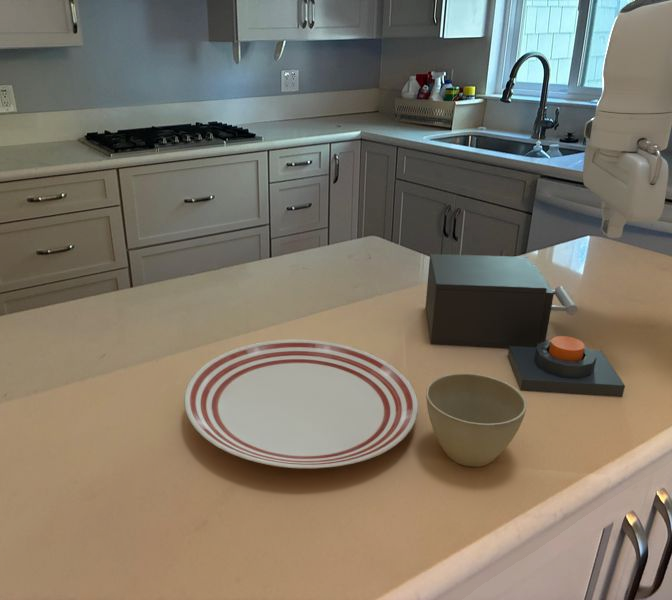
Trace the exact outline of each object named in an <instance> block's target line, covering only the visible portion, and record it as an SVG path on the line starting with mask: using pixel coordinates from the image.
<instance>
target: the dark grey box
mask: <svg viewBox="0 0 672 600" xmlns="http://www.w3.org/2000/svg"><path fill="white" fill-rule="evenodd" d="M532 264H533V263H532V262H531V261H530V260H529V258H528V256H507V255H474V254H449V253H448V254H447V253H446V254H445V253H443V254H441V253H430V254H429V261H428V274H427V284H426V296H425V297H426V298H425V306H424V307H425V309H424V310H425V316H426V323H427V330H428V335H429V343H430V345H433V346H450V347H468V348H469V347H470V348H485V349H486V348H487V349H488V348H489V349H502V350H503V349H505V350H509V346H522V347H537V346H538V344H539V343H538V337H539V331H540V325H541V319H542V314H543V308H544V302H545V296H546V290H547V288H546V287H545V285H544V283H543V282H542V280H541V279H540V277H539V275H538V274H537V272H536V271H535V269H534V267H533V266H532Z"/></svg>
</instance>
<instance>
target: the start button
mask: <svg viewBox="0 0 672 600" xmlns="http://www.w3.org/2000/svg"><path fill="white" fill-rule="evenodd" d="M550 340H551V342H550V347H549V354H550V355H551V356H553V357H555V358H558V359H561V360H565V361H579V360H582V358H583V353H584V348H585V347H586V345H585V343H584V341H582V340H580V339H577V338H576V337H572V336H567V335H558V336H554V337H552V338H551V339H550Z"/></svg>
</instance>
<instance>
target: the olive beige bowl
mask: <svg viewBox="0 0 672 600" xmlns="http://www.w3.org/2000/svg"><path fill="white" fill-rule="evenodd" d="M425 399H426V407H427V412H428V417H429V421H430V424H431V428H432V430H433V432H434V435H435V437H436V439H437V441H438V443H439V445H440V447H441V448H442V450H443V451H444V453H445V454H446V456H447V457H448V458H449V460H451V461H453V462H455V463H457V464H458V465H461V466H465V467H472V468H479V467H484V466H487V465H489V464H490V463H492V462H493V461H494V460H495V459H497V458H498V457H499V456H500V455H501V454H502V453H503V452H504V451H505V450H506V448H507V447H508V446H509V445H510V444H511V442H512V441H513V439H514V438H515V436H516V435H517V433H518V431H519V429H520V427H521V426H522V423H523V420H524V418H525V415H526V412H527V407H528V405H527V400H526V398H525V395H524V394H523V393H522V392H521V391H520V389H518V388H516V387H515V386H513V385H512V384H510V383H508V382H506V381H504V380H502V379H499V378H496V377H494V376H489V375H486V374H480V373H474V372H473V373H471V372H456V373H449V374H444V375H441V376H439V377H436V378H435V379H433V380H432V381H431V382H430V383H428V385H427V388H426V391H425Z"/></svg>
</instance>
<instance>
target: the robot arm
mask: <svg viewBox="0 0 672 600" xmlns="http://www.w3.org/2000/svg"><path fill="white" fill-rule="evenodd" d="M601 78H602V92H601V95H600V97H599V100H598V102H597V104H596V108H595V114H594V116H593V118H591V119H589V120H588V121H586V123H585V125H584V131H583V136H584V138H585V139H587V140H586V142H585V146H584V147H585V148H584V155H583V165H582V166H583V167H582V182H583V186H584V187H586V189H588V190H589V191H590V192H592V193H593V194H594V195H596V196H597V197H598V198H599V199H600V200H601V204H600V206H601V219H602V220H601V227H600V231H601V232H602V233H603V234H604V235H606V237H608V238H609V239H619V238H622V235H623V231H624V226H625V225H626V223H627V222H634V223H654V222H655V223H656V222H657V221H658V220H659V219H660V218H661V216H662V214H663V212H664V207H665V201H666V196H667V189H668V182H669V164H668V161H667V160H666V159H665V158H664V157H663V156H662V155H661V154H662V153H661V151H664V150H666V149H667V148H668V145H669V140H670V135H671V131H672V0H633V1H631V2H628V3H627V4H626V5H624V7H622V8H621V9H620V10H619V11H618V13H617V15H616V17H615V19H614V22H613V24H612V27H611V31H610V34H609V38H608V42H607V45H606V52H605V56H604V60H603V66H602V72H601Z"/></svg>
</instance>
